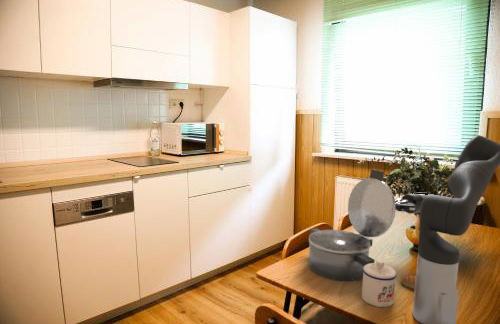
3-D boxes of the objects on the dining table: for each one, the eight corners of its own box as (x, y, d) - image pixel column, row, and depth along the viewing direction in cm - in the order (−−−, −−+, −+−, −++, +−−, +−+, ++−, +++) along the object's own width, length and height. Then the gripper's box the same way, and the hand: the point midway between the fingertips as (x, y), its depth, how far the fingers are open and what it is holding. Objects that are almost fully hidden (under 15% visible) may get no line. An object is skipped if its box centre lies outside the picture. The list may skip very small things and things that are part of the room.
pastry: (401, 289, 105) (402, 277, 105) (400, 279, 111) (401, 268, 111) (435, 295, 102) (436, 283, 101) (432, 284, 108) (433, 273, 108)
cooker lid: (384, 246, 112) (393, 246, 114) (400, 175, 110) (408, 176, 112) (343, 226, 131) (351, 226, 133) (355, 165, 129) (363, 166, 131)
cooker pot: (398, 280, 110) (400, 251, 108) (342, 294, 101) (344, 262, 99) (337, 246, 137) (339, 222, 136) (289, 254, 128) (290, 229, 127)
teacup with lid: (381, 311, 92) (384, 271, 91) (354, 296, 100) (356, 259, 98) (406, 299, 99) (410, 261, 97) (379, 285, 106) (382, 250, 105)
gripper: (403, 189, 136) (370, 192, 129) (433, 197, 124) (398, 201, 117) (402, 207, 137) (369, 211, 130) (431, 217, 125) (396, 222, 118)
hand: (383, 206), depth 124 cm, fingers closed
